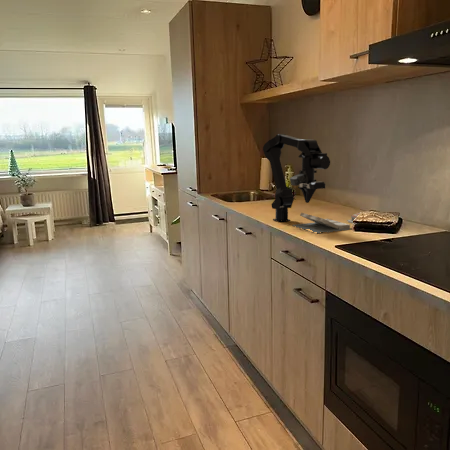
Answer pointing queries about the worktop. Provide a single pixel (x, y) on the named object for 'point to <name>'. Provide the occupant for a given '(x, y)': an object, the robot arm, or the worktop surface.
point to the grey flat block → (339, 224)
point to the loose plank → (319, 220)
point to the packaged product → (353, 217)
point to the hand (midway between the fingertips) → (307, 202)
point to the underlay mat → (318, 227)
